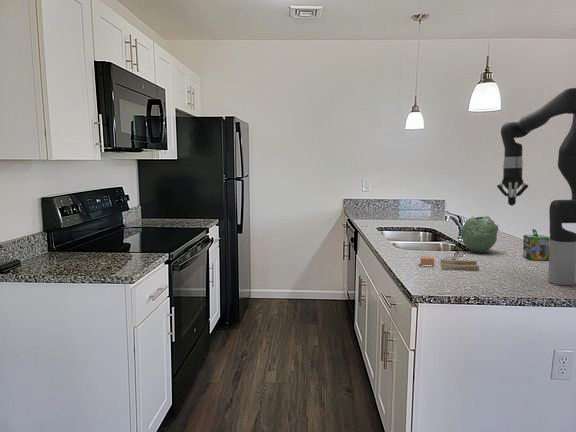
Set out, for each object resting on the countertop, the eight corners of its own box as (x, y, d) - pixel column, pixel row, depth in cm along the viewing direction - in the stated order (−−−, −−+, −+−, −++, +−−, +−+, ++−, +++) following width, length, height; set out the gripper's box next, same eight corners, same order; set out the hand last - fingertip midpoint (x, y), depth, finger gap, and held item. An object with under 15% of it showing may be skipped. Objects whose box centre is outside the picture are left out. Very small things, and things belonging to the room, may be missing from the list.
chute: (478, 270, 187) (479, 266, 187) (441, 269, 192) (441, 264, 192) (476, 264, 198) (476, 260, 198) (440, 263, 204) (440, 259, 204)
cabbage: (463, 248, 237) (463, 213, 235) (499, 251, 227) (500, 214, 224) (457, 253, 224) (457, 217, 222) (495, 256, 214) (496, 218, 211)
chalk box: (549, 260, 201) (550, 230, 200) (528, 260, 203) (529, 230, 202) (542, 256, 210) (543, 228, 209) (522, 256, 212) (523, 228, 210)
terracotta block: (434, 267, 197) (434, 259, 197) (421, 266, 199) (421, 258, 198) (433, 264, 203) (433, 256, 202) (420, 264, 205) (420, 256, 204)
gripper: (497, 167, 184) (496, 206, 186) (531, 166, 180) (530, 206, 182) (495, 167, 191) (494, 204, 193) (527, 166, 187) (526, 204, 189)
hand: (511, 205), depth 188 cm, fingers closed
